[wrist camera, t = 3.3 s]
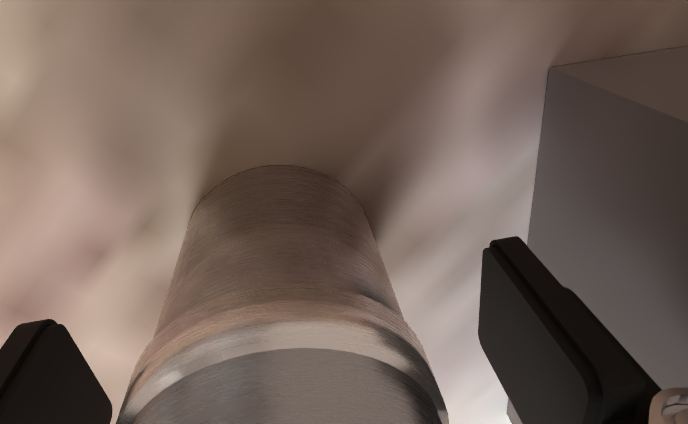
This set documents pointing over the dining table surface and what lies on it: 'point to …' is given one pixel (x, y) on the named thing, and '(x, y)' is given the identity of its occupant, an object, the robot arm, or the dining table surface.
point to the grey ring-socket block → (619, 201)
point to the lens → (281, 316)
